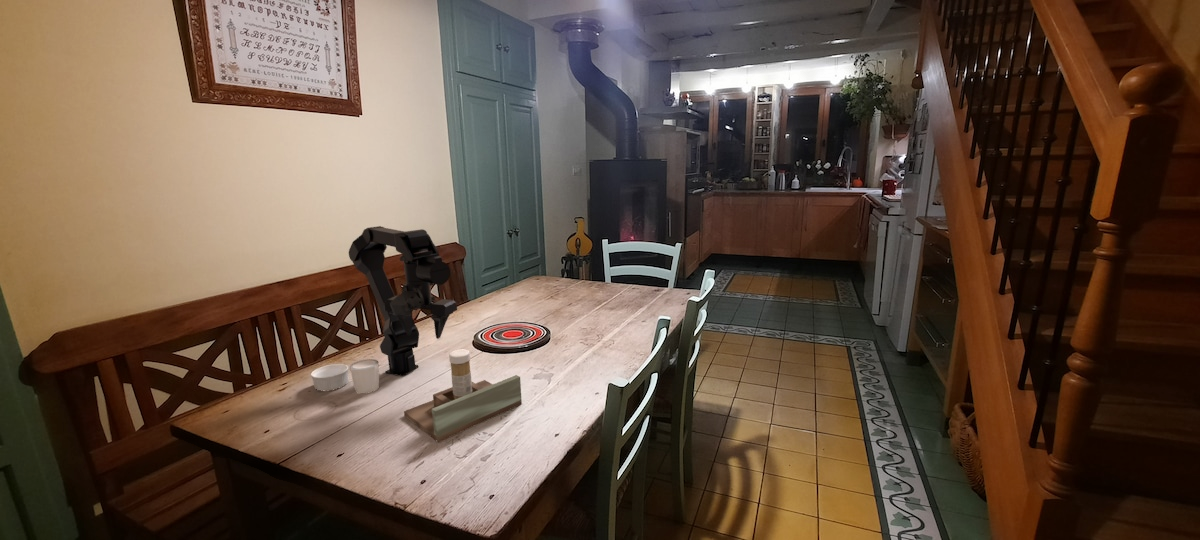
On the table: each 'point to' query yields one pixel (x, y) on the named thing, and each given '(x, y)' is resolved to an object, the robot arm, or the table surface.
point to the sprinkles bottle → (460, 373)
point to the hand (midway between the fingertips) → (423, 336)
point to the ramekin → (330, 377)
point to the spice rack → (465, 407)
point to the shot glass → (365, 375)
